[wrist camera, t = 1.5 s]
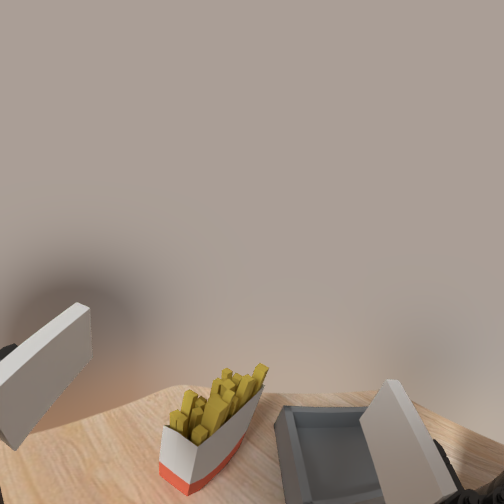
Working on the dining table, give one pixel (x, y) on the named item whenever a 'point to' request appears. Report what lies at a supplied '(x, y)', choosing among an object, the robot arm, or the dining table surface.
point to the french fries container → (208, 430)
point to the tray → (325, 456)
